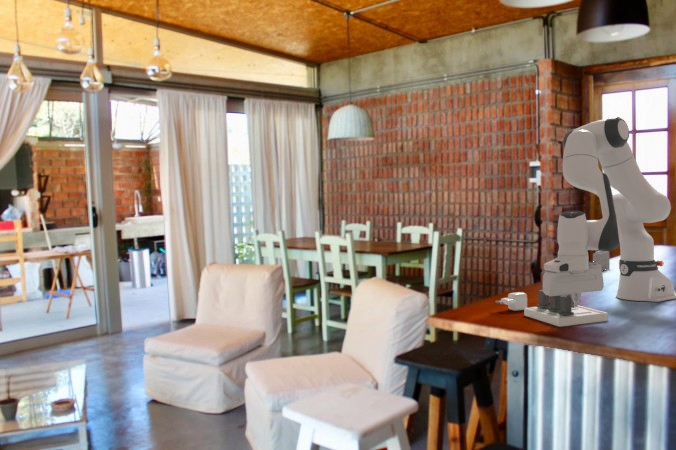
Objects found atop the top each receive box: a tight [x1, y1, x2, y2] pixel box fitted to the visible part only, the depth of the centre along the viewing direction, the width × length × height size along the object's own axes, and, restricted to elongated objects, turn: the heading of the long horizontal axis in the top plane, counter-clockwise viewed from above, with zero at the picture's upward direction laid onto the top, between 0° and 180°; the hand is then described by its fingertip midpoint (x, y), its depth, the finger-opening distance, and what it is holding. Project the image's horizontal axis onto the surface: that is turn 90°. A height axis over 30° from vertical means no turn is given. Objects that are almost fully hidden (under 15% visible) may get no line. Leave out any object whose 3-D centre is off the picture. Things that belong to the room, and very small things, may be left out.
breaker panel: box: [523, 304, 609, 327], centre depth 189 cm, size 18×18×3 cm
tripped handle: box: [558, 296, 574, 316], centre depth 182 cm, size 3×3×6 cm
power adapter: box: [495, 291, 528, 311], centre depth 204 cm, size 11×5×6 cm, turn 111°
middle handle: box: [548, 295, 561, 312], centre depth 188 cm, size 3×3×6 cm
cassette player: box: [592, 250, 611, 272], centre depth 288 cm, size 16×3×10 cm, turn 138°
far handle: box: [536, 289, 550, 309], centre depth 194 cm, size 3×3×6 cm
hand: (573, 307), depth 183 cm, fingers closed
